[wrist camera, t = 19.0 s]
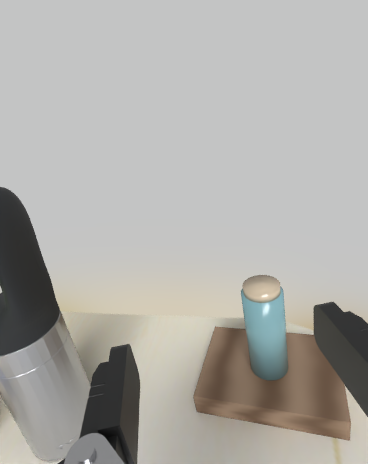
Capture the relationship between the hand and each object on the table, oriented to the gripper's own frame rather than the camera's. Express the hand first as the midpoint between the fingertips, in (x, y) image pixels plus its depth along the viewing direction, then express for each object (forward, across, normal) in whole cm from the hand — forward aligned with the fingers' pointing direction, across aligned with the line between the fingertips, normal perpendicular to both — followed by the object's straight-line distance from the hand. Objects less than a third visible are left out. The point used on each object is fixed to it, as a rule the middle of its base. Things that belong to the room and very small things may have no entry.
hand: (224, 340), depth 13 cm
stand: (+20, -8, +28) cm, 35 cm away
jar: (+20, -8, +25) cm, 33 cm away
